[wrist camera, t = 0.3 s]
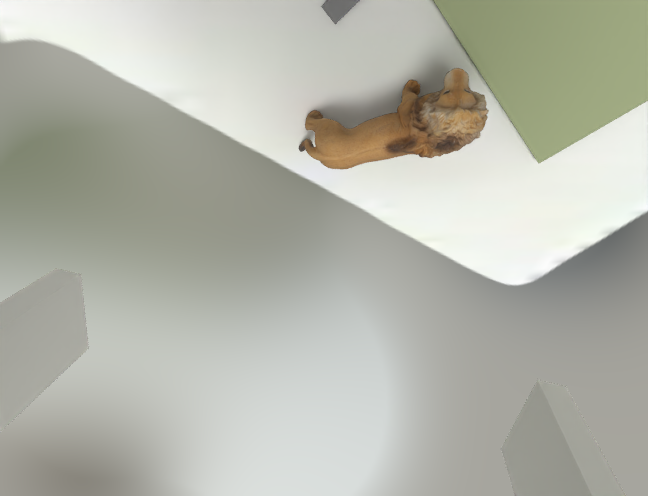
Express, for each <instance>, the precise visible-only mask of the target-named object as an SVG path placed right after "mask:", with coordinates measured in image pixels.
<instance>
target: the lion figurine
mask: <svg viewBox="0 0 648 496" xmlns="http://www.w3.org/2000/svg"><path fill="white" fill-rule="evenodd" d="M468 82H469V76H468V74H467V73H466V72H465V71H464V70H463V69H460V68H455V69H452V70H451V71H449V72H448V73H447V74H446V75H445V78H444V89H442V90H441V91H438V92H435V93H431V94H427V95H424V96H421V97H418V96H417V95H418V94H419V93H420V84H418V83H417V81H413V80H409V81H408V82H407V84H406V85H405V87H404V89H403V91H402V102H401V104H400V105H399V107H398V109H397V113H390V114H386V115H383V116H380V117H377V118H373V119H370V120H368V121H365V122H363V123H361V124H360V125H358V126H356V127H355V128H352V129H347V128H345V127H343V126H342V125H341V124H340V123H339V122H337V121H334V120H331V119H324V118H323V115H322V114H321V113H320V112H318V111H316V110H314V111H312V112H310V113H309V114H308V116H307V118H306V122H305V127H306V130H313V131H314V132H315V144H316V147H314V146H313V144H312V142H311V140H310V139H306V140H305V141H303V142H302V143H301V145H300V146H299V150H300V151H301V152H302V151H304V150H305V149H306V151H307V153H308V154H309V155H310V156H311V157H313V158H314V159H316V160H319V161H320V162H321V163H322V164H323V165H324V166H326V167H328V168H332V169H348V168H352V167H354V166H356V165H359V164H362V163H367V162H372V161H378V160H385V159H390V158H394V157H398V156H403V155H407V154H416V155H419V156H420V157H428V158H433V157H434V156H437V155H438V156H441V155H443V154H448V153H451V152H453V151H458V150H460V149H461V148H462V147H463V146H465V145H466V144H469V143H471V142H472V141H473V140H474V139H475V138H479V137H480V131H481V130H482V129H483V128H484V125H485V121H486V120H487V116H486V114H487V113H488V110H487V108H486V101H485V96H484V95H481V94H479V93H477V92H473V91H471V90H470V88H469V85H468ZM322 118H323V119H322Z"/></svg>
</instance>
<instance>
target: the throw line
mask: <svg viewBox="0 0 648 496" xmlns="http://www.w3.org/2000/svg"><path fill="white" fill-rule="evenodd" d="M358 1H359V0H327V1H326V2H325V3H324V4H323V5H322V6H321V7H322V8H323V9H324V11H325V12H326V13H327V14H328V16H329V17H330V18H331V20H332V21H333V22H334V23H335V24H336V23H337V22H338V21H339V20H340V19H341V18H342V17H343V16H344V15H345V14H346V13H347V12H348V11H349V10H350V9H351V8H352V7H353V6H354V5H355V4H356V3H357V2H358Z"/></svg>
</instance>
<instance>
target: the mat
mask: <svg viewBox="0 0 648 496" xmlns="http://www.w3.org/2000/svg"><path fill="white" fill-rule="evenodd" d="M433 1H434V2H435V4H436V5H437V7H438V8H439V10H440V12H441V13H442V15H443V16H444V18H445V19H446V21H447V22H448V24H449V26H450V27H451V29H452V30H453V32H454V33H455V35H456V36H457V38H458V39H459V41H460V43H461V44H462V46H463V47H464V49H465V50H466V52H467V53H468V55H469V56H470V58H471V60H472V61H473V63H474V64H475V66H476V67H477V69H478V70H479V72H480V74H481V75H482V77H483V78H484V80H485V81H486V83H487V84H488V86H489V87H490V89H491V91H492V92H493V94H494V95H495V97H496V98H497V100H498V101H499V103H500V104H501V106H502V108H503V109H504V111H505V112H506V114H507V115H508V117H509V118H510V120H511V122H512V123H513V125H514V126H515V128H516V129H517V131H518V132H519V134H520V135H521V137H522V139H523V140H524V142H525V143H526V145H527V146H528V148H529V149H530V151H531V152H532V154H533V156H534V157H535V159H536V160H537V162H538V163H541V162H542V161H544V160H546V159H548V158H549V157H551V156H553V155H555V154H556V153H558V152H560V151H562V150H563V149H565V148H567V147H568V146H570V145H572V144H574V143H575V142H577V141H579V140H581V139H582V138H584V137H586V136H587V135H589V134H591V133H593V132H594V131H596V130H598V129H600V128H601V127H603V126H605V125H606V124H608V123H610V122H612V121H613V120H615V119H617V118H619V117H620V116H622V115H624V114H625V113H627V112H629V111H631V110H632V109H634V108H636V107H638V106H639V105H641V104H643V103H645V102H646V101H648V0H433Z"/></svg>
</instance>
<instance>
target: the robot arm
mask: <svg viewBox="0 0 648 496" xmlns="http://www.w3.org/2000/svg"><path fill="white" fill-rule="evenodd" d="M88 348H89V347H88V337H87V327H86V318H85V308H84V298H83V289H82V280H81V274H79V273H74V272H70V271H66V270H62V269H57V268H56V269H54V270H53V271H51V272H49V273H48V274H46V275H44V276H43V277H41V278H40V279H38V280H36V281H35V282H33V283H31V284H30V285H28V286H27V287H25V288H23V289H22V290H20V291H18V292H17V293H15V294H14V295H12V296H11V297H9V298H7V299H5V300H4V301H2V302H1V303H0V432H1V431H2V430H3V429H4V428H5V427H6V426H7V425H9V424H10V423H11V422H12V421H13V420H14V419H15V418H16V417H17V416H18V415H19V414H20V413H21V412H22V411H23V410H24V409H25V408H26V407H28V405H30V404H31V403H32V402H33V401H34V400H35V399H36V398H37V397H38V396H39V395H40V394H41V393H42V392H43V391H44V390H45V389H46V388H47V387H49V386H50V385H51V384H52V383H53V382H54V381H55V380H56V379H57V378H58V377H59V376H60V375H61V374H62V373H63V372H64V371H65V370H66V369H67V368H68V367H70V366H71V365H72V364H73V363H74V362H75V361H76V360H77V359H78V358H79V357H80V356H81V355H82V354H83V353H84V352H85V351H86V350H87V349H88ZM501 450H502V453H503V457H504V460H505V464H506V467H507V470H508V474H509V477H510V481H511V484H512V488H513V491H514V494H515V496H626V495H625V493H624V491H623V489H622V488H621V486H620V484H619V482H618V480H617V478H616V477H615V475H614V473H613V471H612V469H611V467H610V466H609V464H608V462H607V460H606V458H605V456H604V455H603V453H602V451H601V449H600V447H599V445H598V444H597V442H596V440H595V438H594V436H593V435H592V433H591V431H590V429H589V427H588V426H587V424H586V422H585V420H584V418H583V416H582V414H581V413H580V411H579V409H578V407H577V405H576V404H575V402H574V400H573V398H572V396H571V394H570V393H569V391H568V389H567V387H566V386H563V385H558V384H554V383H550V382H545V381H541V380H537V382H536V384H535V385H534V387H533V389H532V391H531V393H530V395H529V397H528V399H527V400H526V402H525V404H524V406H523V408H522V410H521V412H520V414H519V415H518V418H517V419H516V421H515V423H514V425H513V427H512V429H511V431H510V432H509V434H508V436H507V438H506V440H505V442H504V444H503V446H502V448H501Z"/></svg>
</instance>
